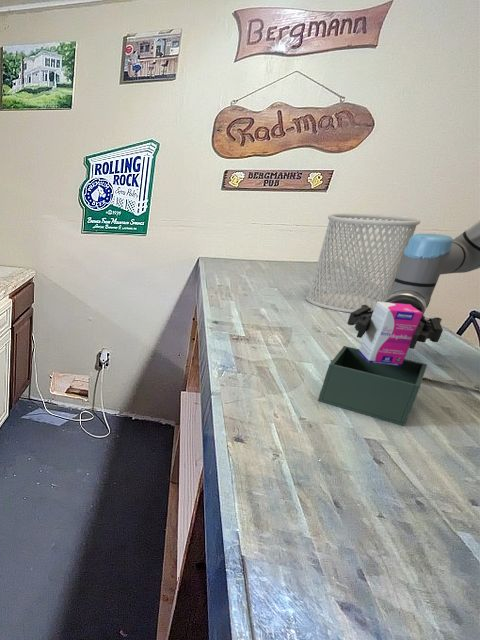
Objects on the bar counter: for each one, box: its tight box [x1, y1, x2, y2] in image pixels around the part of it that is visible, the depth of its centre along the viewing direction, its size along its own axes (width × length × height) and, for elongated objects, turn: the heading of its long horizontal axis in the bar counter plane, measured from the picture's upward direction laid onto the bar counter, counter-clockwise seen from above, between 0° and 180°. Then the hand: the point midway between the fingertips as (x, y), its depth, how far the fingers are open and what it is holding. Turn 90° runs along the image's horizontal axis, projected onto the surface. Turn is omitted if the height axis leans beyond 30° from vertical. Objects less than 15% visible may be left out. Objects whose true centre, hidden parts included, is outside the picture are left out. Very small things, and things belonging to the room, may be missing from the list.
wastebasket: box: [305, 212, 421, 314], centre depth 158 cm, size 25×25×30 cm
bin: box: [317, 345, 428, 427], centre depth 96 cm, size 14×14×9 cm
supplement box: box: [358, 301, 424, 366], centre depth 92 cm, size 6×6×12 cm
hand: (386, 336), depth 88 cm, fingers closed on supplement box, 7 cm apart
